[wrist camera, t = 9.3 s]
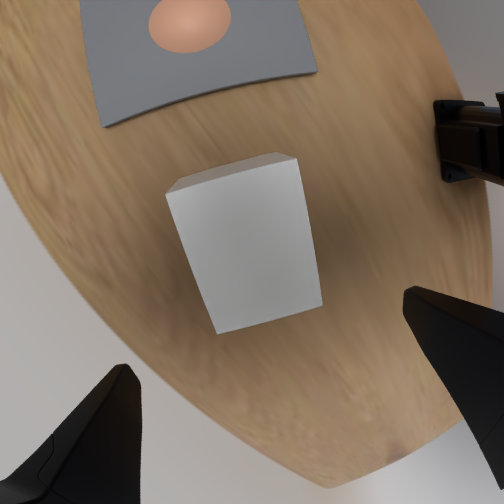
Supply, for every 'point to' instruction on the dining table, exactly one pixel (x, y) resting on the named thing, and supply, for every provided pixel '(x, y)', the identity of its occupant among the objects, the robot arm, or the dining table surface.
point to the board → (187, 49)
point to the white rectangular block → (248, 240)
